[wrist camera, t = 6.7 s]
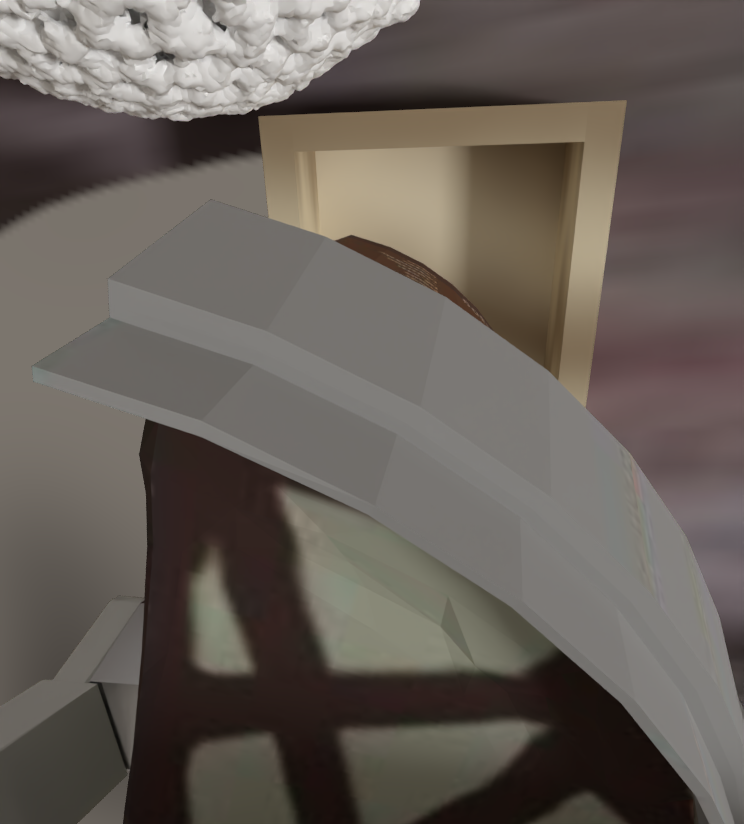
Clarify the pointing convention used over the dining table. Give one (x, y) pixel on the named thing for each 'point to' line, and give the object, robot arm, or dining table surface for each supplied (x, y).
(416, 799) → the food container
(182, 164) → the dining table surface
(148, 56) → the white bumpy round lump
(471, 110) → the wooden tray
